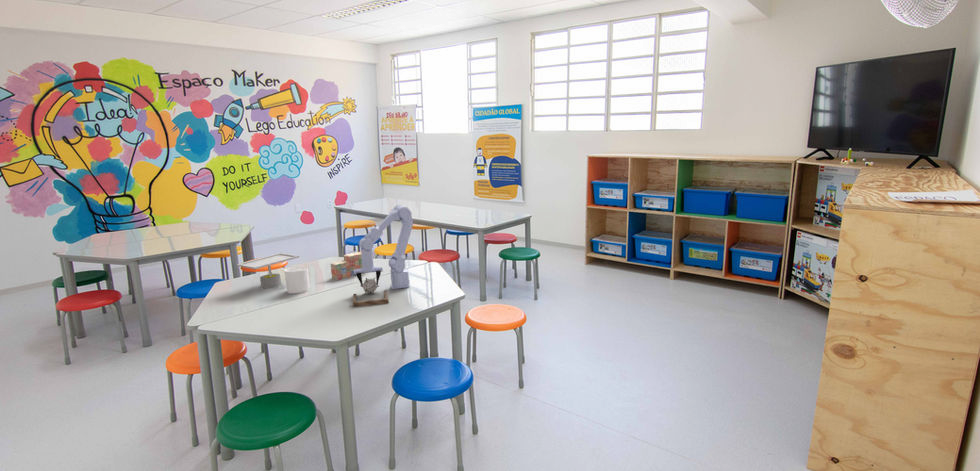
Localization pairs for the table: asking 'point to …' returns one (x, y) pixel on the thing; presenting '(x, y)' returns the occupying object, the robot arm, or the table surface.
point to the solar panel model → (269, 279)
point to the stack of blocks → (346, 266)
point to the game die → (369, 286)
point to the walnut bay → (370, 301)
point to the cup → (297, 279)
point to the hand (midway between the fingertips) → (369, 285)
